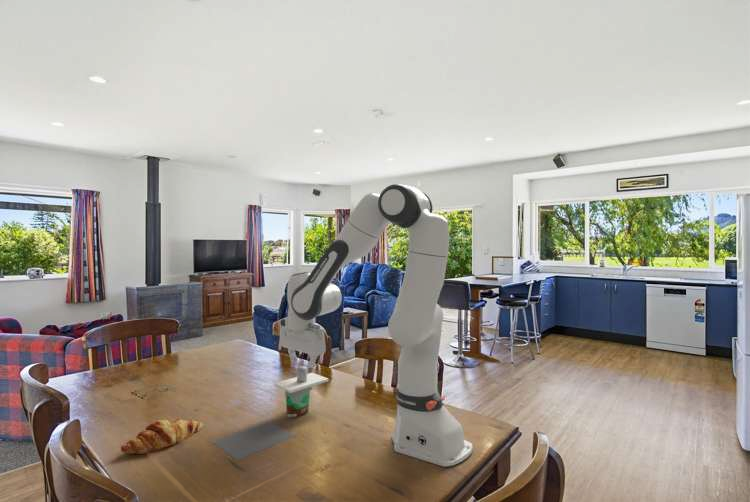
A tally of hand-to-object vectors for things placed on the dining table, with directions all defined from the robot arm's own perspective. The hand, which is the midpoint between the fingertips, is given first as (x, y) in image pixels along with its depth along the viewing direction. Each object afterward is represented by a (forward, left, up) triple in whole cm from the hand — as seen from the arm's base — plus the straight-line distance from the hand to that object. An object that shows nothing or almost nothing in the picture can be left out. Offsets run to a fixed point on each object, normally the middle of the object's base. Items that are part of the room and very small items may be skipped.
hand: (302, 364), depth 130 cm
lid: (0, 0, -6) cm, 6 cm away
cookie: (+57, +26, -17) cm, 65 cm away
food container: (0, 0, -16) cm, 16 cm away
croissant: (+12, +38, -17) cm, 43 cm away
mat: (-5, +20, -16) cm, 26 cm away
